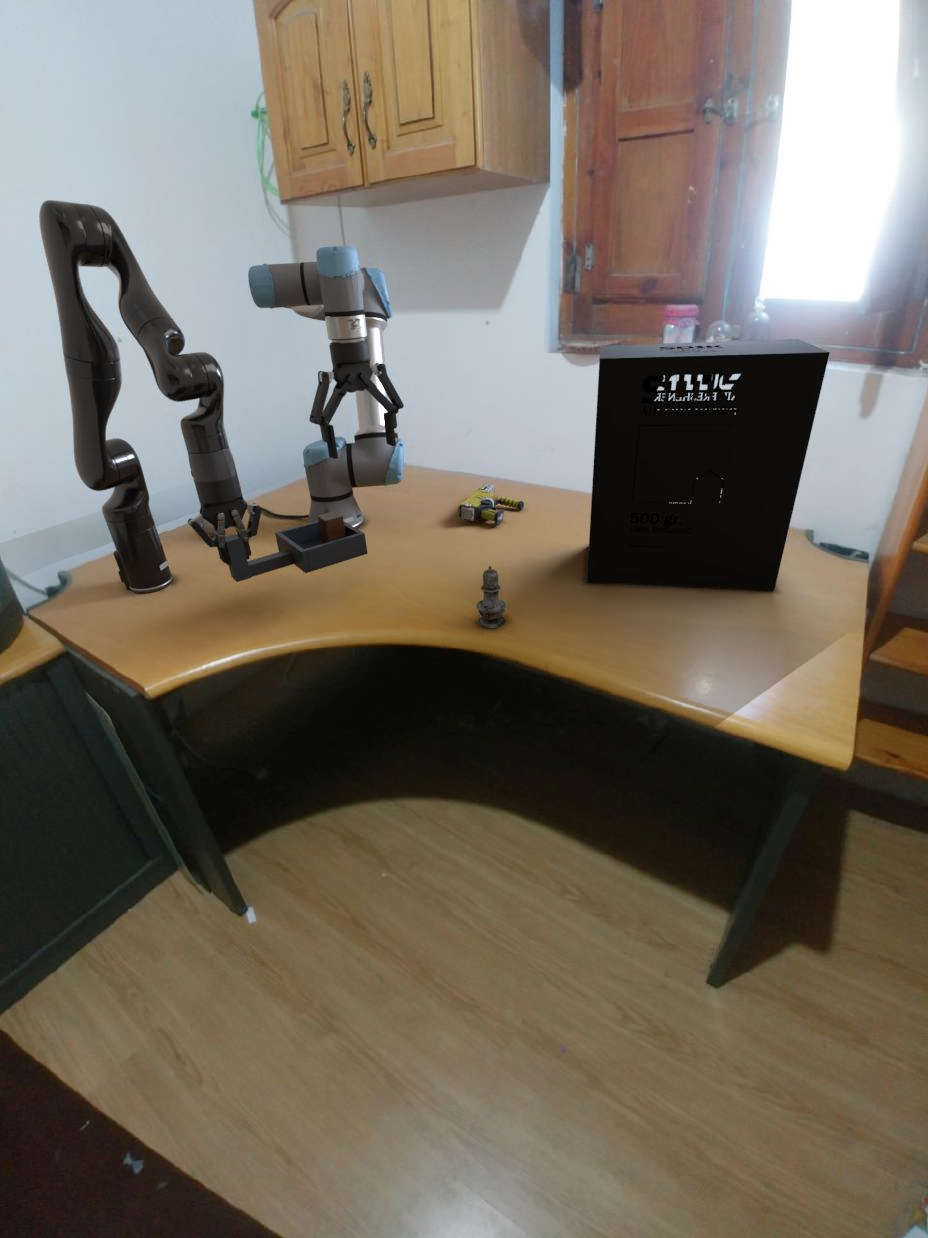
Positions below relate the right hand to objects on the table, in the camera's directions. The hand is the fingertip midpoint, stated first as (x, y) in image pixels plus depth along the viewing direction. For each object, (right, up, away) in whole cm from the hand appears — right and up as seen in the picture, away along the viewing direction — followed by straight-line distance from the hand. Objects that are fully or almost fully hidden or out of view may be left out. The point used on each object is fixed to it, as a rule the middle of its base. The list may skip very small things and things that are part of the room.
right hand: (363, 451), depth 127 cm
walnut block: (-6, -20, +2) cm, 21 cm away
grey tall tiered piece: (+27, -36, -8) cm, 45 cm away
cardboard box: (+68, -24, +9) cm, 73 cm away
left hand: (-23, -24, -9) cm, 35 cm away
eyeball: (-48, -12, +41) cm, 64 cm away
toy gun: (+30, -5, +46) cm, 55 cm away
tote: (-14, -23, -2) cm, 27 cm away
